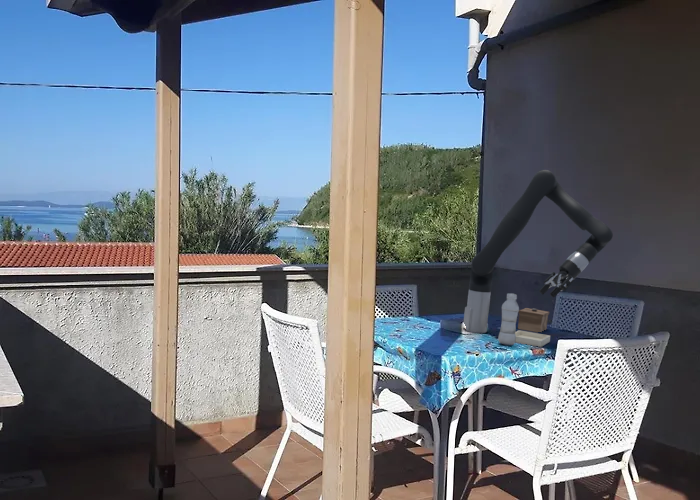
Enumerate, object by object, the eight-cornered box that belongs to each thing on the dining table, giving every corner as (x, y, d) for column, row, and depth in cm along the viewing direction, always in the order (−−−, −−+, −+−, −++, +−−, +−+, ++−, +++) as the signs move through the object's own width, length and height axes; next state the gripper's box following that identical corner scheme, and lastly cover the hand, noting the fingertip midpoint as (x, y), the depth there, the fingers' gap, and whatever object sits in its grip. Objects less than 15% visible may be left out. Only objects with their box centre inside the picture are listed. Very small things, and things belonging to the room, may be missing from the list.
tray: (540, 347, 264) (541, 341, 264) (508, 341, 270) (508, 335, 270) (549, 341, 278) (550, 335, 278) (518, 335, 284) (519, 330, 284)
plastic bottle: (515, 347, 259) (521, 296, 257) (497, 345, 260) (503, 294, 259) (514, 344, 265) (520, 294, 264) (497, 342, 267) (503, 292, 265)
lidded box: (540, 333, 296) (543, 312, 296) (516, 328, 302) (518, 308, 301) (547, 329, 308) (549, 309, 307) (523, 325, 313) (526, 305, 312)
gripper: (558, 257, 273) (531, 285, 271) (577, 260, 259) (549, 289, 257) (570, 270, 274) (543, 298, 273) (589, 274, 261) (561, 303, 259)
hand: (546, 294), depth 265 cm, fingers open, 8 cm apart
